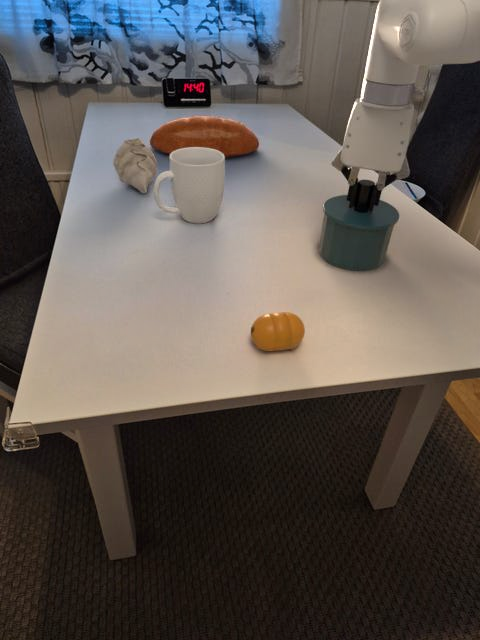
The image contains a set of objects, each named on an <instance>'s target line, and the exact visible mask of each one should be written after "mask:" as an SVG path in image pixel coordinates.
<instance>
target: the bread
mask: <svg viewBox="0 0 480 640" xmlns="http://www.w3.org/2000/svg"><path fill="white" fill-rule="evenodd" d="M149 145H150V146H151V148H152V149H155V150H157V151H159V152H162V153H165V154H168V155H170V154H171V153H172V152H173V151H175V150H178V149H182V148H188V147H205V148H211V149H215V150H218V151H220V152H221V153H223V154H224V156H225V158H231V157H232V158H233V157H238V156H243V155H247V154H249V153H252V152H254V151H256V150H257V149H258V148H259V146H260V141H259V138H258V137H257V135H256V134H255V133H254V132H253V131H252V130H251V129H250V128H249V127H248V126H246V125H245V124H244V123H242V122H240V121H236V120H234V119H230V118H223V117H219V116H213V115H212V116H210V115H207V116H206V115H205V116H203V115H194V116H189V117H181V118H177V119H174V120H170V121H167V122H165V123H163V124H162V125H161V126H158V128H157V129H155V131H153V133H152V135H151V137H150V139H149Z"/></svg>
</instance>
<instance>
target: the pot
mask: <svg viewBox="0 0 480 640" xmlns="http://www.w3.org/2000/svg"><path fill="white" fill-rule="evenodd" d="M394 227H395V225H393V226H391V227H388V228H385V229H377V230H365V229H357V228H352V227H348V226H344V225H341V224H339V223H336V222H334V221H333V220H331V219H329V218H328V217H327V216H326V215H325V213H324V212H323V220H322V226H321V232H320V238H319V242H318V243H319V244H318V253H319V256H320V258H322V260H323V261H325V262H326V263H327V264H329V265H331V266H333V267H336V268H339V269H342V270H346V271H352V272H368V271H372V270H376V269H378V268H380V267H381V266H382V265H383V264H384V262H385V260H386V256H387V252H388V248H389V245H390V241H391V237H392V235H393V230H394Z"/></svg>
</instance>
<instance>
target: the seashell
mask: <svg viewBox="0 0 480 640" xmlns="http://www.w3.org/2000/svg"><path fill="white" fill-rule="evenodd" d="M112 164H113V167H114V171H115V172H116V174H117V176H118V178H119V180H120V181H121V182H122V183H125V184H126V185H130V186H132V187H133V188H134V189H137V190H138V191H139V192H140V194H142V195H143V194H147V193H148V192H147V191H148V186H149V184H151V183H152V182H153V180H154V179H155V178H156V176H157V173H158V163H157V159H156V157H155V155H154V153H153V152H152V150H151V149H150V147H148V146H147V145H146V144H145V143H144V141H143V140H142V139H141V138H133V139H126V140H124V141H123V143H122V145H120V146H119V148H118V149H117V150H116V152H115V155H114V157H113V163H112Z"/></svg>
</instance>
